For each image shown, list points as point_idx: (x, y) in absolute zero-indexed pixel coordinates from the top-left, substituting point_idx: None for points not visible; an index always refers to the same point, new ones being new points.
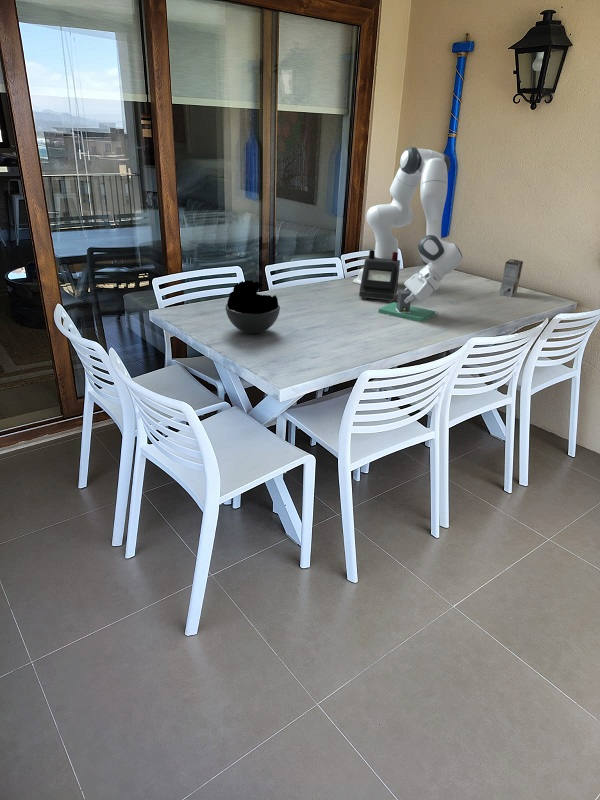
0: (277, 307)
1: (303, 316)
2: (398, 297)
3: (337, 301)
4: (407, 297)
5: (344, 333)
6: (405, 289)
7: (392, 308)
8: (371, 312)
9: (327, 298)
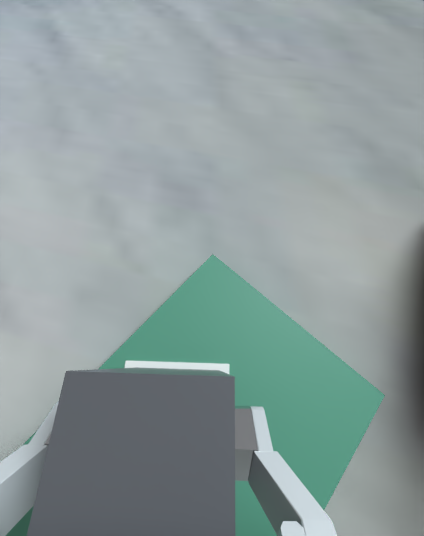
0: None
1: (167, 31)
2: (197, 372)
3: (367, 134)
4: (23, 451)
5: None
6: (300, 528)
7: (226, 343)
8: (212, 230)
9: (401, 110)
